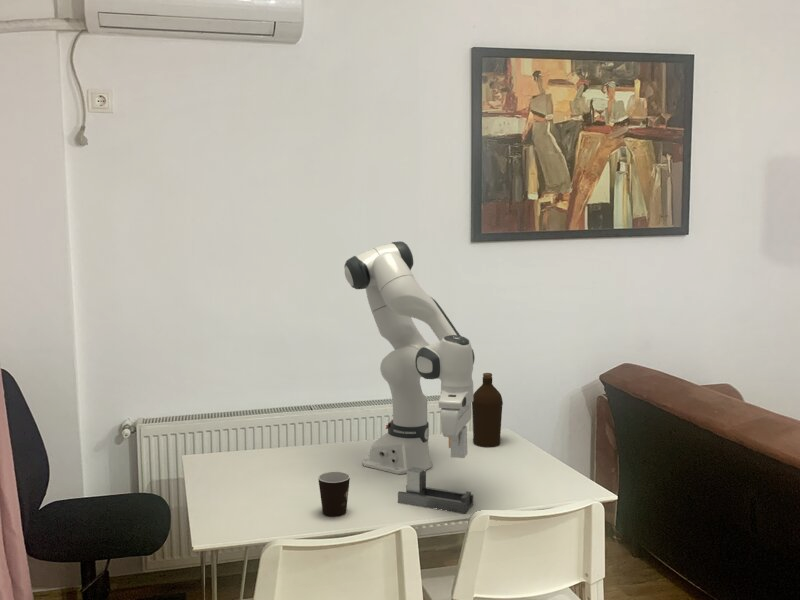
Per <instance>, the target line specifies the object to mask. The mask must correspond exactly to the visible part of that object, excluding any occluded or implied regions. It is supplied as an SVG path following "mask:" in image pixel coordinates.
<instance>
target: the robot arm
mask: <svg viewBox="0 0 800 600" xmlns="http://www.w3.org/2000/svg"><path fill="white" fill-rule="evenodd" d="M412 252H413V251H412V250H411V248H410V247H409V245H408V244H407V243H405V242H404V241H392V242H391V243H388V244H383V245H379V246H376V247H373V248H372V249H369V250H367V251H364V252H361V253H360V254H358V255H353V256H352V257H350V258H349V259H347V260H346V261H345V264H344V276H345V279H346V281H347V283H348V284H349V285H350V287H351V288H353V289H354V290H364V289H365V293H366V297H367V301H368V304H369V305H368V306H369V308H370V310H371V313H372V315H373V318H374V321H375V324H376V327H377V330H378V332H379V334H380V335H381V337H383V338H384V339H385V340H387V342H388V343H389V344H390V345H391V346H392V348H393V349H394V350H392V351H390V352H389V353H388V354H387V355H386V356H384V358H383V359H382V360H381V362H380V368H379V370H380V373H381V376H382V378H383V379H384V380H385V382H387V384H388V386H389V390H390V393H391V399H392V419H391V420H390V422H388V423H387V425H385V430H387V432H386V433H385V434H384V435H382V436H380V437H379V438H378V439H377V440H375V441H374V442H372V443H373V444H372V445H371V448H370V452H369V454H368V455H367V456H366V457H365V458H364V459H363V460H362V465H364V466H363V467H367V468H372V469H376V470H380V471H384V472H387V473H393V474H397V475H403V474H407V471H408V470H409V469H410V468H411V467H416V468H423V469H425V471H426V470H429V469H431V468H432V467H433V462H432V459H431V454H430V449H429V448H430V447H429V437H430V426H429V425H430V424H429V422H428V398H427V396H426V395H425V394H424V393H423V389H422V385H421V379H422V378H423V379H424V380H436V379H439V380H440V381H441V384H440V397H439V399H438V408H440V423H441V425H440V426H441V432H442V436H443V437H445V438H449V437H451V440H452V447H454V448H457V447H458V446H459V437H458V435H459V432H460V431H461V430H462V429H463V428H464V426H467V424H468V423H469V422H470V421H471V419H472V416H473V413H472V402H473V395H474V381H473V377H472V376H473V371H474V364H475V352H474V350H473V348H472V347H473V346H472V345H471V342H470V340H469V338H467V337H465V336H462V335H461V334H460V333H459V331H458V330H457V329H456V327H455V325H454V324H453V323H452V321H451V320H450V318H449V317H448V316H447V314H446V313H445V311H444V310H443V308H442V307H441V306H440V305H439V303H438V302H437V301H436V299H434V298H433V297H432V296H431V295H429V294H428V293H427V292H426V291H425V290H424V289H423V288H422V287H421V285H420V284H419V283H418V281H417V280H416V278H415V276H414V274H413V273H412V268H413V266H414V256H413V253H412ZM413 319H417V320H419V321H422V322H424V323H425V324H427V325H428V326H429V328H430V329H431V331H432V332H433V333H434V335H435V336H436V338H437V339H438V341H437V342H435V343H433V344H430V343H429V342H427V341H426V339H425V338H424V336H423V335H422V334H421V333H420V331H419V330H418V328H417V326H416V325H415V322H414V321H413Z"/></svg>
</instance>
